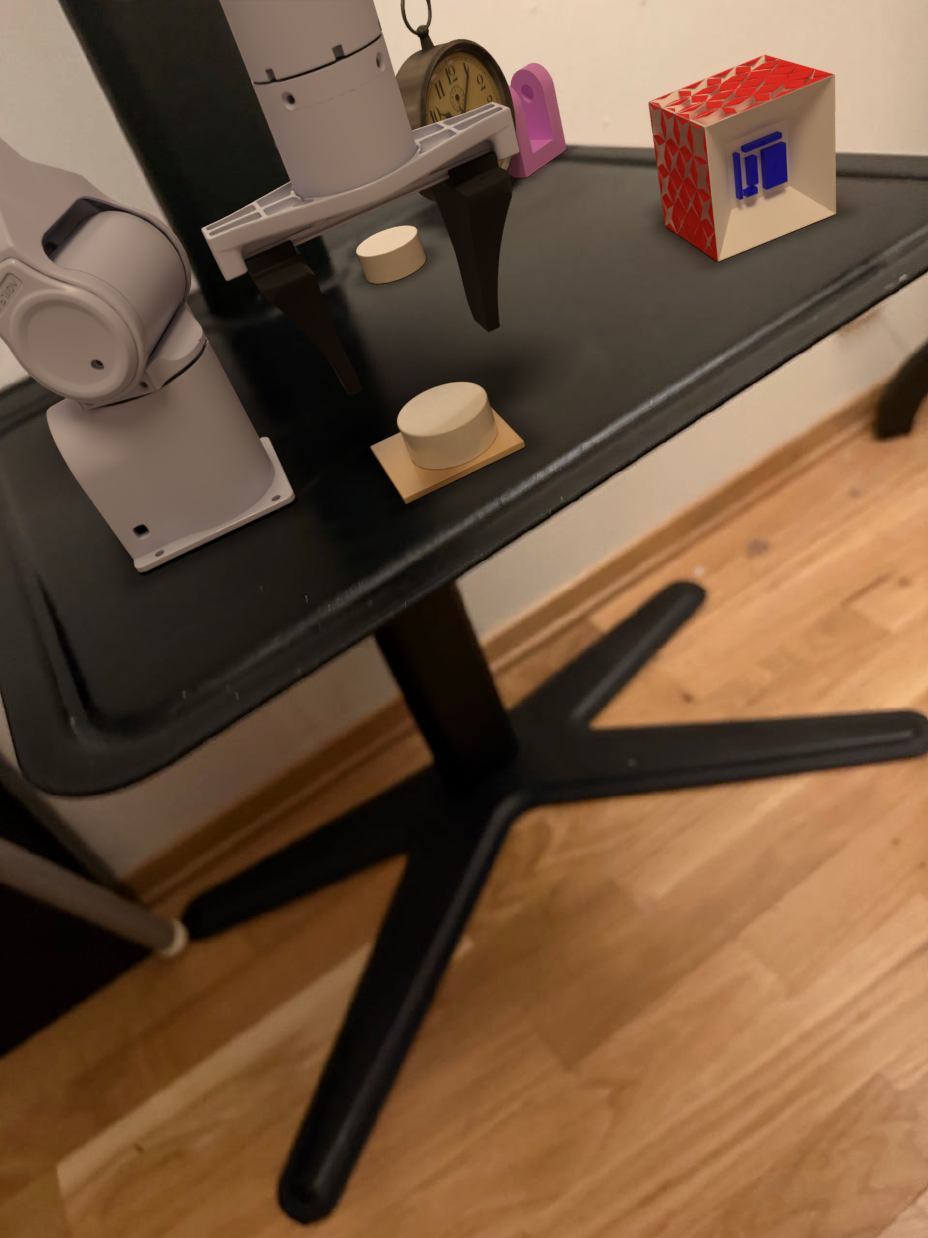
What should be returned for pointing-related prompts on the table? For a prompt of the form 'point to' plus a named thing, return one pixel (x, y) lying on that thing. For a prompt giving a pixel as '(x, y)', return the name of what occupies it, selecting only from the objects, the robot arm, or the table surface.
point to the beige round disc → (391, 254)
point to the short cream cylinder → (447, 425)
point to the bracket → (535, 120)
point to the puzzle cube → (746, 154)
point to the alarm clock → (449, 82)
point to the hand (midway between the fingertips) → (419, 354)
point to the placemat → (423, 481)
